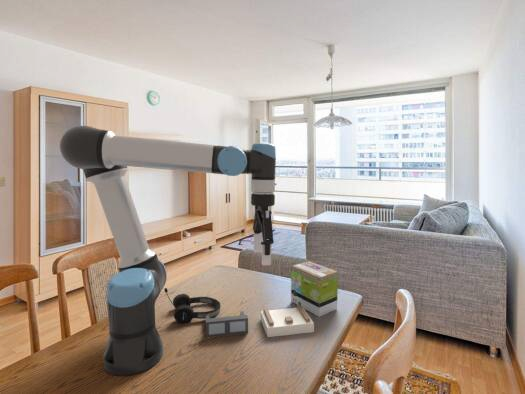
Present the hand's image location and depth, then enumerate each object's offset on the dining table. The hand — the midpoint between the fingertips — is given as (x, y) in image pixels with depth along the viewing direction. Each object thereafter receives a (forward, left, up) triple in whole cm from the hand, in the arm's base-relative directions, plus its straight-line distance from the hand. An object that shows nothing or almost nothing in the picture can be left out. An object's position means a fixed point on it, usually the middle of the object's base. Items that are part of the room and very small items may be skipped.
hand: (261, 258), depth 100 cm
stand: (+8, -3, -23) cm, 24 cm away
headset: (-23, +12, -23) cm, 35 cm away
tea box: (+21, +9, -23) cm, 33 cm away
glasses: (-12, +1, -22) cm, 25 cm away
